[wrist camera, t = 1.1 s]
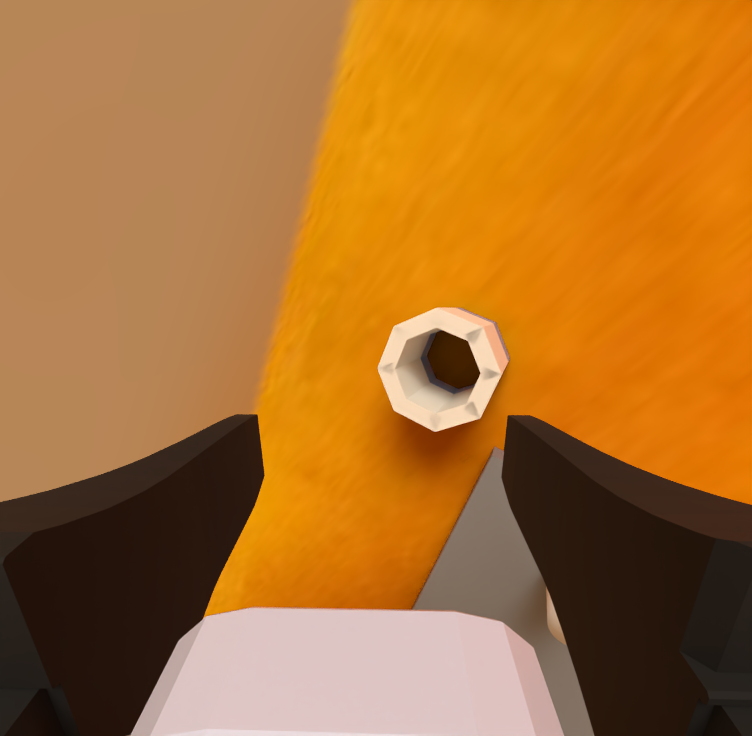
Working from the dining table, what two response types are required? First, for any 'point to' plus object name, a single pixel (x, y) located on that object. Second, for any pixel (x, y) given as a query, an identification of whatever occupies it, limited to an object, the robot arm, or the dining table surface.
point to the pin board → (505, 588)
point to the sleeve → (417, 380)
